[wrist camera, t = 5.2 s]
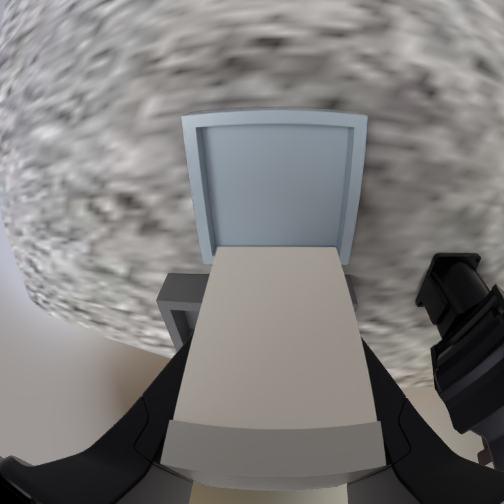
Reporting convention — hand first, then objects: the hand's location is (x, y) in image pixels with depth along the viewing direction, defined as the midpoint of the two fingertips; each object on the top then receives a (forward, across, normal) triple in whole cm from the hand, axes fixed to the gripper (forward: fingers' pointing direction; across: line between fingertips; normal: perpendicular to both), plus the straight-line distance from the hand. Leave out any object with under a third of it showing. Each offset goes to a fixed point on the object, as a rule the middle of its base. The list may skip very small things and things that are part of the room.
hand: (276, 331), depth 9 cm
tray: (+12, 0, 0) cm, 13 cm away
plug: (+2, 0, 0) cm, 2 cm away
